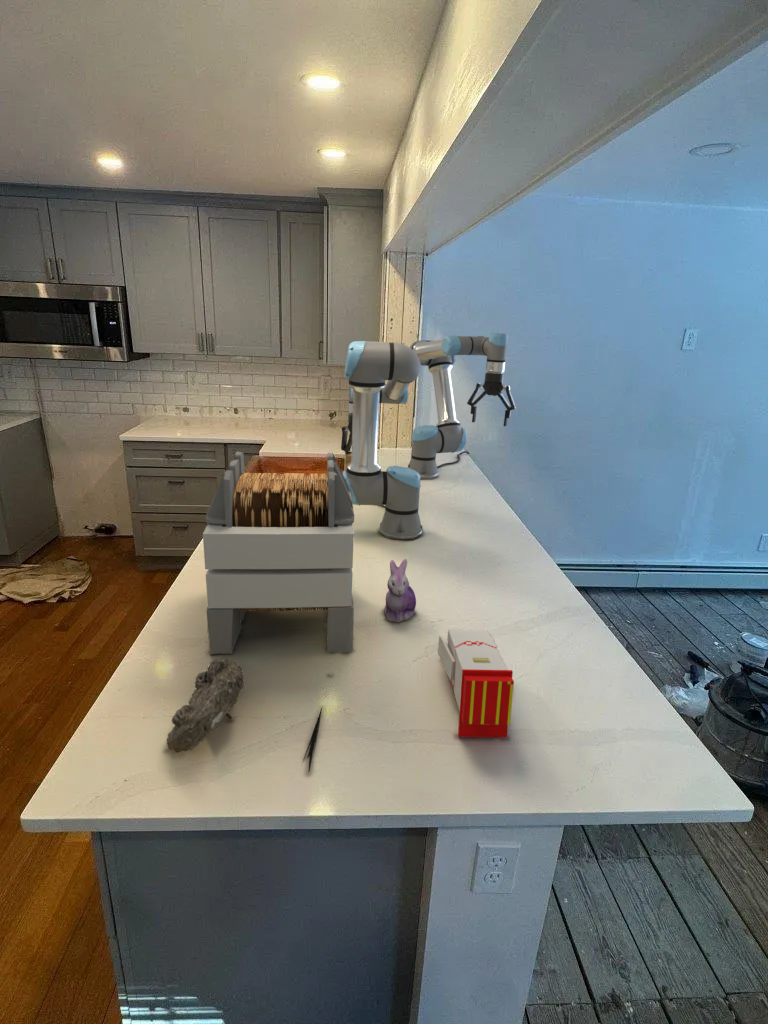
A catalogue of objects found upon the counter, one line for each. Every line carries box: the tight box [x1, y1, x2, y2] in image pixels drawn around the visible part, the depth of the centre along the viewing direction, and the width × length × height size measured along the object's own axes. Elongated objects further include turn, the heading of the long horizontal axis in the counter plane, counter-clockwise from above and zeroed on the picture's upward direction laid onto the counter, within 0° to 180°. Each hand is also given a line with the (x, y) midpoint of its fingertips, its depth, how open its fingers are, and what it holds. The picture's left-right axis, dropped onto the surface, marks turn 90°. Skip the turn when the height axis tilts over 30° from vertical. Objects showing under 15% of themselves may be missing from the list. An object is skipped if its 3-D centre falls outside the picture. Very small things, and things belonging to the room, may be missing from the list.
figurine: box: [384, 558, 417, 623], centre depth 145 cm, size 9×10×15 cm
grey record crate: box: [202, 451, 355, 655], centre depth 137 cm, size 34×33×41 cm
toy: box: [437, 628, 515, 738], centre depth 117 cm, size 12×13×30 cm
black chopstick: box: [301, 673, 332, 771], centre depth 108 cm, size 2×28×2 cm
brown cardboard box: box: [344, 453, 352, 471], centre depth 237 cm, size 9×6×7 cm
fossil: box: [166, 658, 245, 754], centre depth 106 cm, size 22×10×15 cm
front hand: (356, 468), depth 238 cm, fingers closed on brown cardboard box, 6 cm apart
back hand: (489, 423), depth 240 cm, fingers open, 13 cm apart
